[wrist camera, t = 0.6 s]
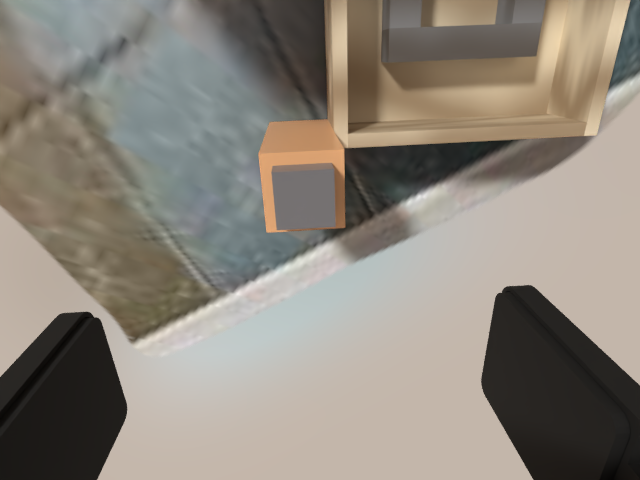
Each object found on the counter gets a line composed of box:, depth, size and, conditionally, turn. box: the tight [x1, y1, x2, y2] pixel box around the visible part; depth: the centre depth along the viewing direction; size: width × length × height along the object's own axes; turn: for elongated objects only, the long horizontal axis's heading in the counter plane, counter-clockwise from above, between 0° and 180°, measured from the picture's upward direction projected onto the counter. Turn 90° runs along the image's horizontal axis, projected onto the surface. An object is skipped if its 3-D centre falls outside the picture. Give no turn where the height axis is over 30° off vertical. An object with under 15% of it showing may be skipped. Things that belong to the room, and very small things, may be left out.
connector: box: [259, 119, 345, 233], centre depth 23 cm, size 4×4×11 cm
